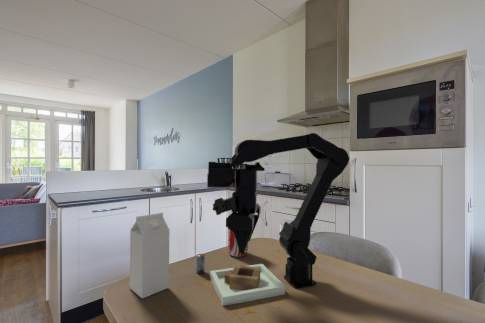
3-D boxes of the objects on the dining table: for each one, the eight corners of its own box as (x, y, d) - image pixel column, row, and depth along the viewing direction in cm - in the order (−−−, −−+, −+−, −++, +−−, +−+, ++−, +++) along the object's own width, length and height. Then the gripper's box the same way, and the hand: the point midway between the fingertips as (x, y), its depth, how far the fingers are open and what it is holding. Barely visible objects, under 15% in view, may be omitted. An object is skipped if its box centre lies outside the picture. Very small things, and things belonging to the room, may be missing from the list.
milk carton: (129, 288, 62) (130, 214, 62) (155, 279, 67) (156, 210, 67) (141, 299, 57) (142, 219, 57) (168, 288, 62) (169, 214, 62)
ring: (260, 278, 67) (260, 267, 67) (256, 291, 60) (256, 279, 60) (228, 275, 68) (228, 264, 68) (221, 287, 61) (222, 275, 61)
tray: (262, 270, 73) (262, 263, 73) (285, 294, 60) (285, 286, 60) (210, 278, 68) (210, 271, 68) (222, 306, 54) (222, 297, 54)
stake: (203, 270, 73) (203, 253, 73) (205, 273, 71) (205, 256, 71) (195, 271, 72) (195, 254, 72) (197, 274, 70) (197, 257, 70)
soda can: (239, 259, 81) (239, 224, 81) (223, 254, 85) (224, 220, 85) (251, 253, 86) (251, 220, 86) (236, 249, 91) (236, 217, 91)
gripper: (225, 184, 75) (224, 234, 74) (205, 190, 56) (203, 257, 56) (261, 185, 73) (260, 237, 72) (252, 192, 54) (251, 261, 54)
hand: (244, 246), depth 64 cm, fingers open, 9 cm apart
